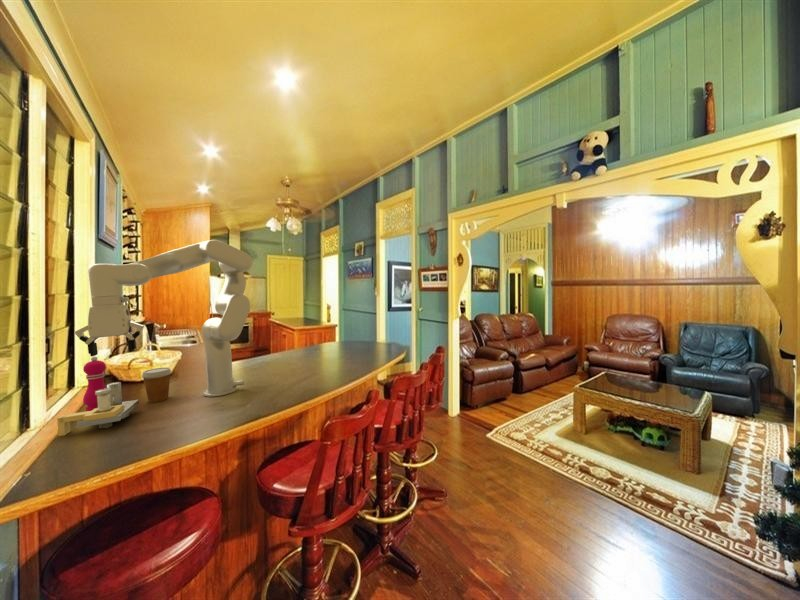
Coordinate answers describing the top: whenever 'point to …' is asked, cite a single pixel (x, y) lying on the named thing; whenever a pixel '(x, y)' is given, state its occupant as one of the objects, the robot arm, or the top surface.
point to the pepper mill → (93, 382)
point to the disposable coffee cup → (157, 383)
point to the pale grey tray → (115, 400)
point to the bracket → (85, 418)
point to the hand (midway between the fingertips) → (113, 353)
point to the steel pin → (104, 403)
